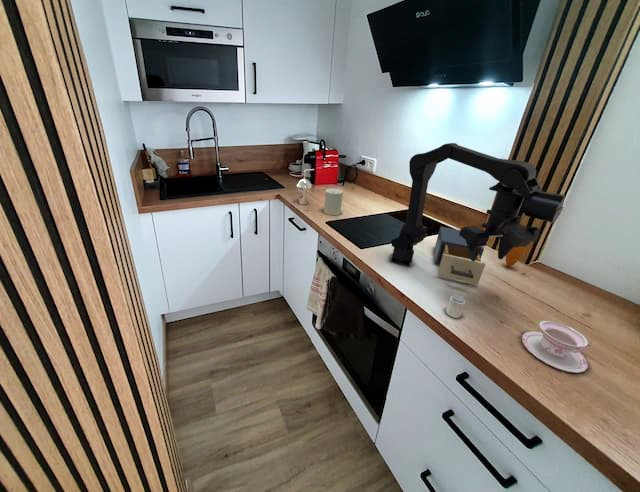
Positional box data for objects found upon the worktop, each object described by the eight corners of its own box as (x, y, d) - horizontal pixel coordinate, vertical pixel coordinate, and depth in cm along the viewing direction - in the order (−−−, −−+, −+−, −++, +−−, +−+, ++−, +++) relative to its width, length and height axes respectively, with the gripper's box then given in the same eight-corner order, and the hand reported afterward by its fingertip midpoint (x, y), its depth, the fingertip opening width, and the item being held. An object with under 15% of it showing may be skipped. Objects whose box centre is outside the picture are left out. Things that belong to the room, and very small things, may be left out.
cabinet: (475, 273, 100) (484, 249, 96) (434, 264, 105) (441, 240, 101) (470, 255, 111) (478, 233, 107) (434, 248, 116) (440, 226, 112)
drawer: (479, 291, 89) (487, 270, 85) (437, 281, 93) (444, 260, 90) (472, 266, 102) (479, 246, 99) (437, 258, 107) (442, 239, 104)
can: (321, 213, 147) (323, 191, 142) (324, 207, 155) (326, 186, 151) (339, 216, 145) (342, 193, 140) (341, 210, 153) (344, 188, 148)
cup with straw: (302, 199, 167) (304, 165, 159) (314, 203, 162) (317, 168, 153) (292, 202, 162) (294, 167, 154) (304, 206, 156) (307, 170, 148)
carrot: (510, 271, 101) (525, 234, 95) (496, 264, 106) (511, 228, 100) (520, 270, 103) (536, 232, 97) (506, 262, 107) (521, 226, 101)
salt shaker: (446, 315, 80) (451, 299, 78) (445, 307, 83) (450, 292, 81) (460, 319, 78) (466, 303, 76) (459, 311, 81) (465, 296, 79)
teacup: (523, 356, 67) (533, 337, 65) (519, 326, 77) (527, 308, 74) (593, 383, 61) (607, 363, 59) (579, 347, 71) (591, 328, 68)
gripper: (501, 223, 67) (481, 278, 74) (565, 220, 71) (540, 272, 77) (465, 206, 77) (450, 256, 84) (523, 204, 81) (504, 252, 87)
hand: (486, 259), depth 83 cm, fingers open, 9 cm apart
